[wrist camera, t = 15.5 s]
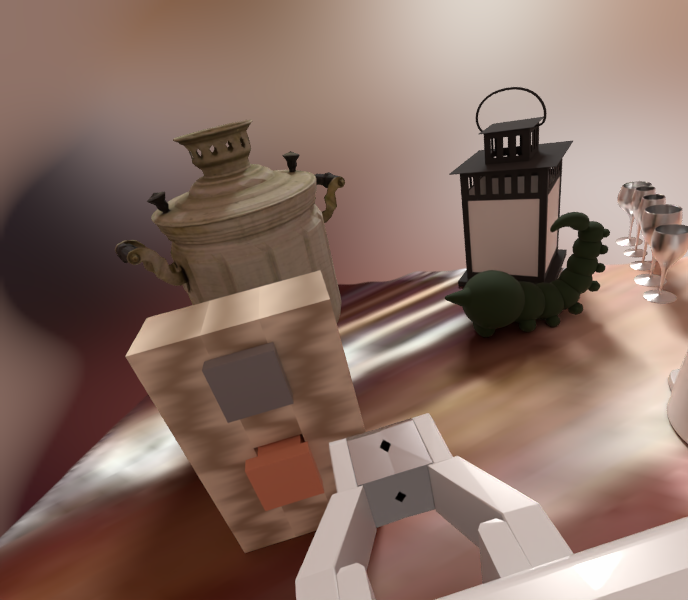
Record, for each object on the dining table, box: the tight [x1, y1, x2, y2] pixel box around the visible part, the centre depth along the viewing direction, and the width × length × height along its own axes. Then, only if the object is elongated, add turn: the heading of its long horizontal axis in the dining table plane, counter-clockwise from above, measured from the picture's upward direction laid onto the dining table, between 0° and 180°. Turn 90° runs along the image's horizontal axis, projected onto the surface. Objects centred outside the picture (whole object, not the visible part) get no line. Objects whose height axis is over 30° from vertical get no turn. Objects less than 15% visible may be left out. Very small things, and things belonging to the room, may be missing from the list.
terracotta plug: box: [245, 434, 324, 511], centre depth 38 cm, size 6×9×6 cm, turn 10°
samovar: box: [115, 120, 345, 324], centre depth 56 cm, size 30×26×40 cm
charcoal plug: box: [202, 342, 294, 423], centre depth 35 cm, size 6×9×6 cm, turn 10°
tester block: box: [126, 270, 365, 553], centre depth 39 cm, size 16×6×27 cm, turn 100°
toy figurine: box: [445, 212, 610, 337], centre depth 62 cm, size 9×19×25 cm
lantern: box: [450, 87, 573, 287], centre depth 74 cm, size 17×17×35 cm
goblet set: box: [615, 182, 688, 304], centre depth 70 cm, size 28×6×13 cm, turn 159°
